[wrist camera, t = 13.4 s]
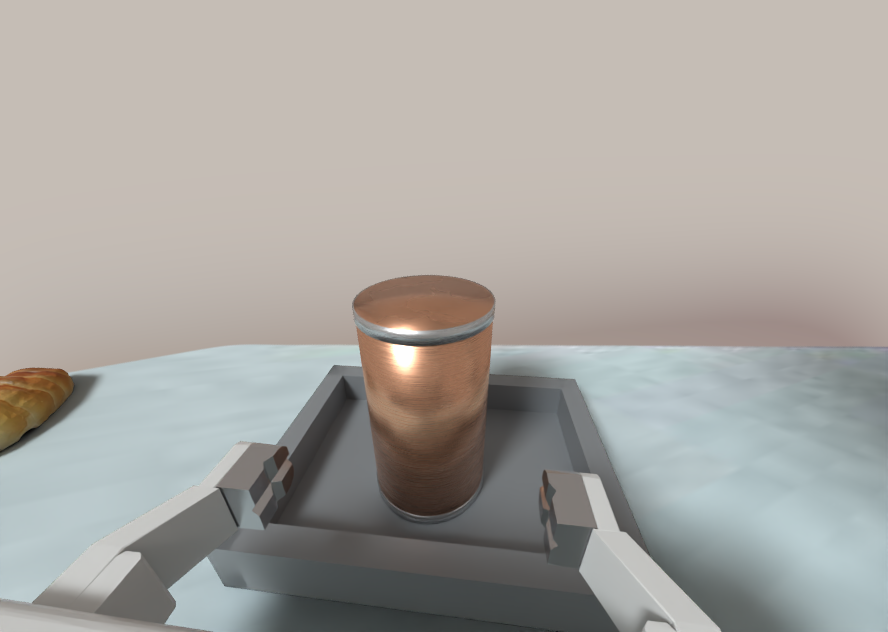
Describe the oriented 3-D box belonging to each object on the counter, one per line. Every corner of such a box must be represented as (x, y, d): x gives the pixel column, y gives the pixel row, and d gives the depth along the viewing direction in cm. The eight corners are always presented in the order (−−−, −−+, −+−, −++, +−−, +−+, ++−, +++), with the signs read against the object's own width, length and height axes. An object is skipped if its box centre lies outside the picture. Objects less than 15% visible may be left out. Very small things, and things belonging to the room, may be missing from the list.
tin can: (482, 435, 21) (492, 276, 16) (483, 530, 16) (499, 335, 11) (392, 428, 22) (376, 273, 17) (363, 518, 16) (327, 327, 11)
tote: (568, 411, 24) (574, 379, 23) (647, 642, 13) (670, 604, 11) (339, 395, 26) (333, 365, 25) (224, 586, 14) (202, 547, 13)
